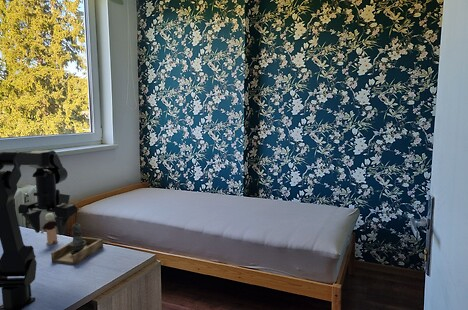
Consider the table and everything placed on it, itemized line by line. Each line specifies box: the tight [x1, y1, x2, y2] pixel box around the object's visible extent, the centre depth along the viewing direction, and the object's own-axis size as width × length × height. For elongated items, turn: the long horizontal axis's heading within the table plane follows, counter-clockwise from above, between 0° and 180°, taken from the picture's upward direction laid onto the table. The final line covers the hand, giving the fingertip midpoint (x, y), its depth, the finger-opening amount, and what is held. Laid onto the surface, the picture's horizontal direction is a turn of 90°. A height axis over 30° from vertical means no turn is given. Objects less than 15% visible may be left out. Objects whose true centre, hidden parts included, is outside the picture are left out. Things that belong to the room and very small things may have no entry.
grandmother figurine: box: [40, 212, 59, 246], centre depth 142 cm, size 8×4×13 cm, turn 157°
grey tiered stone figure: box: [68, 221, 86, 255], centre depth 131 cm, size 6×6×12 cm
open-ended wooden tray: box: [50, 236, 104, 266], centre depth 132 cm, size 16×10×4 cm, turn 166°
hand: (49, 233), depth 118 cm, fingers open, 9 cm apart
